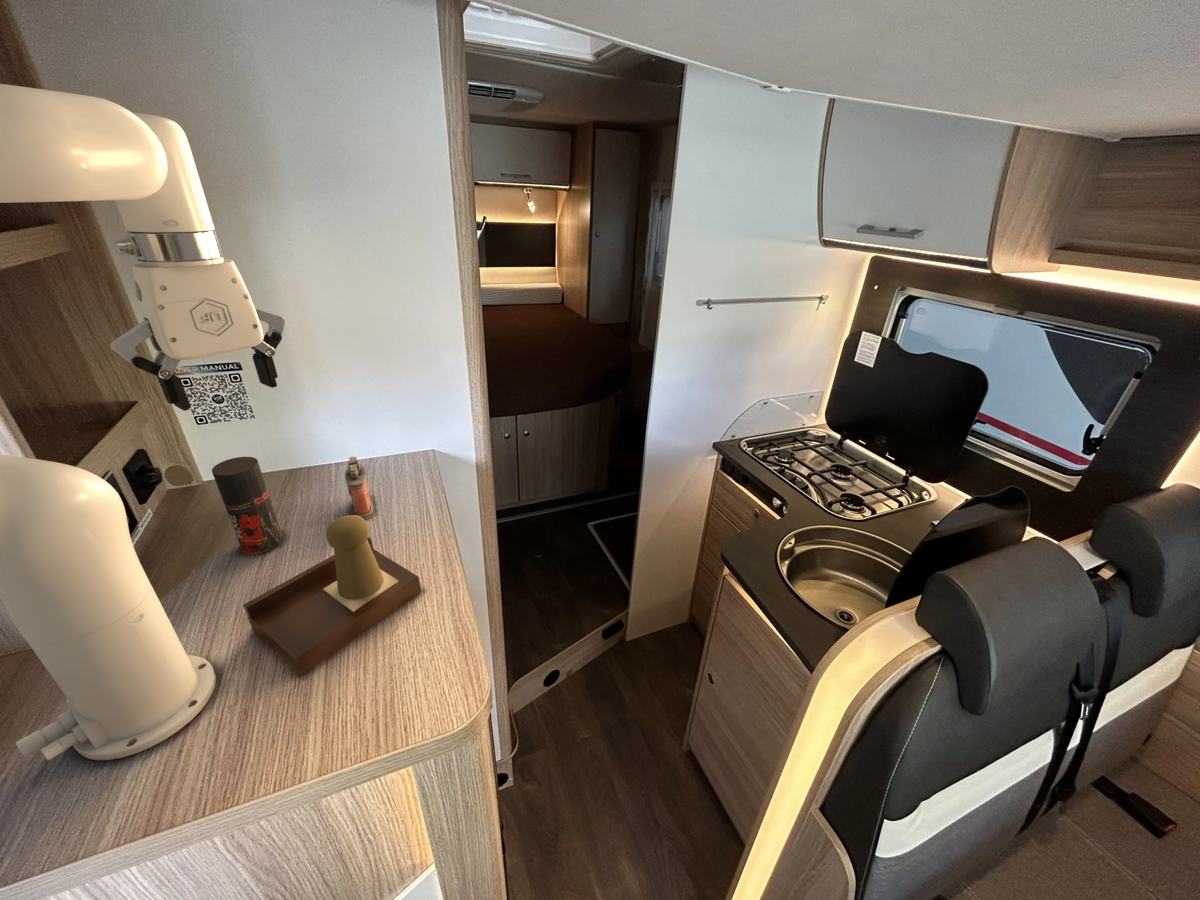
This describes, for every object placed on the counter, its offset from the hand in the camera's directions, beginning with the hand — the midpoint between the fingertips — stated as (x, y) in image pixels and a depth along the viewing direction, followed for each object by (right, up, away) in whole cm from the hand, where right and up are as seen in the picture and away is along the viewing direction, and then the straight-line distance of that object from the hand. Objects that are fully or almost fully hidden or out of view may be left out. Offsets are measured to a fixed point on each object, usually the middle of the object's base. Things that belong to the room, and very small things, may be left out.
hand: (228, 395), depth 62 cm
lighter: (+2, -18, +32) cm, 37 cm away
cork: (+12, -26, +9) cm, 31 cm away
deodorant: (-10, -23, +22) cm, 33 cm away
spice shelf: (+10, -30, +9) cm, 33 cm away
